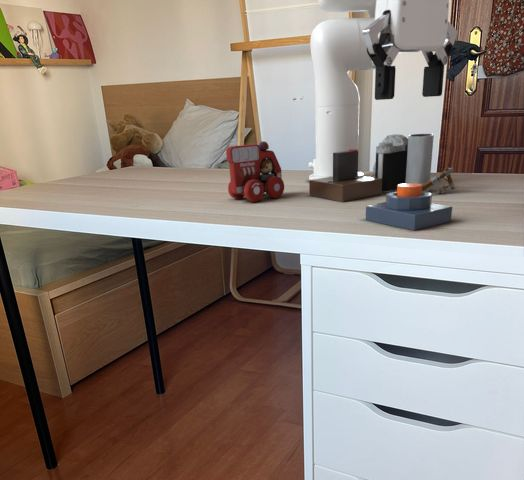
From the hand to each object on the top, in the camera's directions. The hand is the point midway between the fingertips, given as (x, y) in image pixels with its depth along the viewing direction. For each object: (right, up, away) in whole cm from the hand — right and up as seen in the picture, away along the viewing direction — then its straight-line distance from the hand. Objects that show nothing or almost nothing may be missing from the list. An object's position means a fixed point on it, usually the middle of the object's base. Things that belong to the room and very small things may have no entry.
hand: (408, 97), depth 75 cm
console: (-5, -6, +28) cm, 29 cm away
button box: (+1, -16, +6) cm, 17 cm away
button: (+1, -13, +4) cm, 14 cm away
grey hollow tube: (+9, -5, +28) cm, 30 cm away
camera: (+7, -2, +35) cm, 35 cm away
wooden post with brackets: (+12, -7, +25) cm, 28 cm away
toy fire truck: (-22, -6, +30) cm, 38 cm away
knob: (-5, -3, +27) cm, 28 cm away
